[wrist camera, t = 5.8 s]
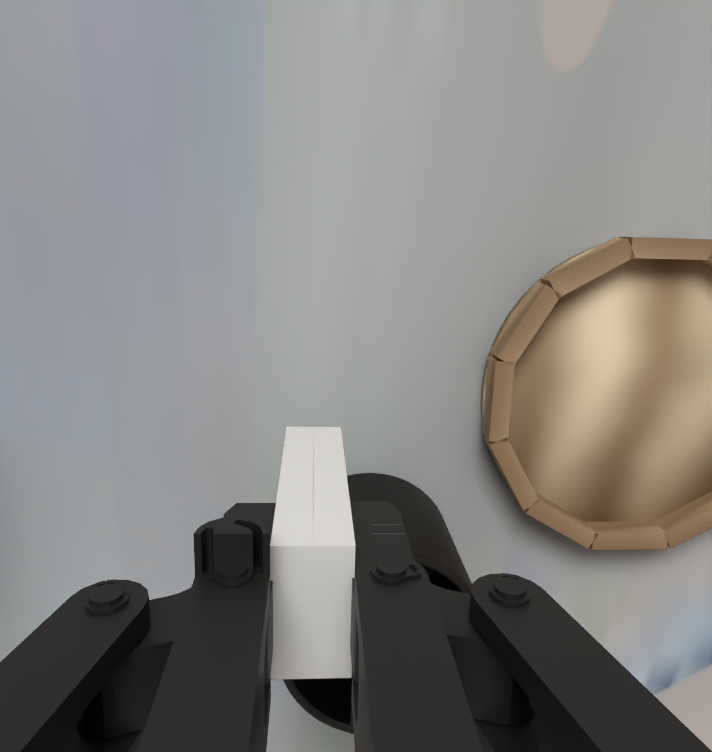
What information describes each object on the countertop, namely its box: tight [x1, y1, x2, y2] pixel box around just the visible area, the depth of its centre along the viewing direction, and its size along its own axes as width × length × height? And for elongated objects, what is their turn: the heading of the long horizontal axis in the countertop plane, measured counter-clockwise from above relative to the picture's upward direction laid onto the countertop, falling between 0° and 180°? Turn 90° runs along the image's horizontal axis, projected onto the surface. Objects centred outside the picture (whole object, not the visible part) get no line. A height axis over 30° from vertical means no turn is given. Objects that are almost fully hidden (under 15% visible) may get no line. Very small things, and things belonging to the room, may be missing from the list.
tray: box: [481, 237, 712, 550], centre depth 34 cm, size 17×17×2 cm
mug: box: [283, 473, 472, 733], centre depth 32 cm, size 9×12×9 cm
